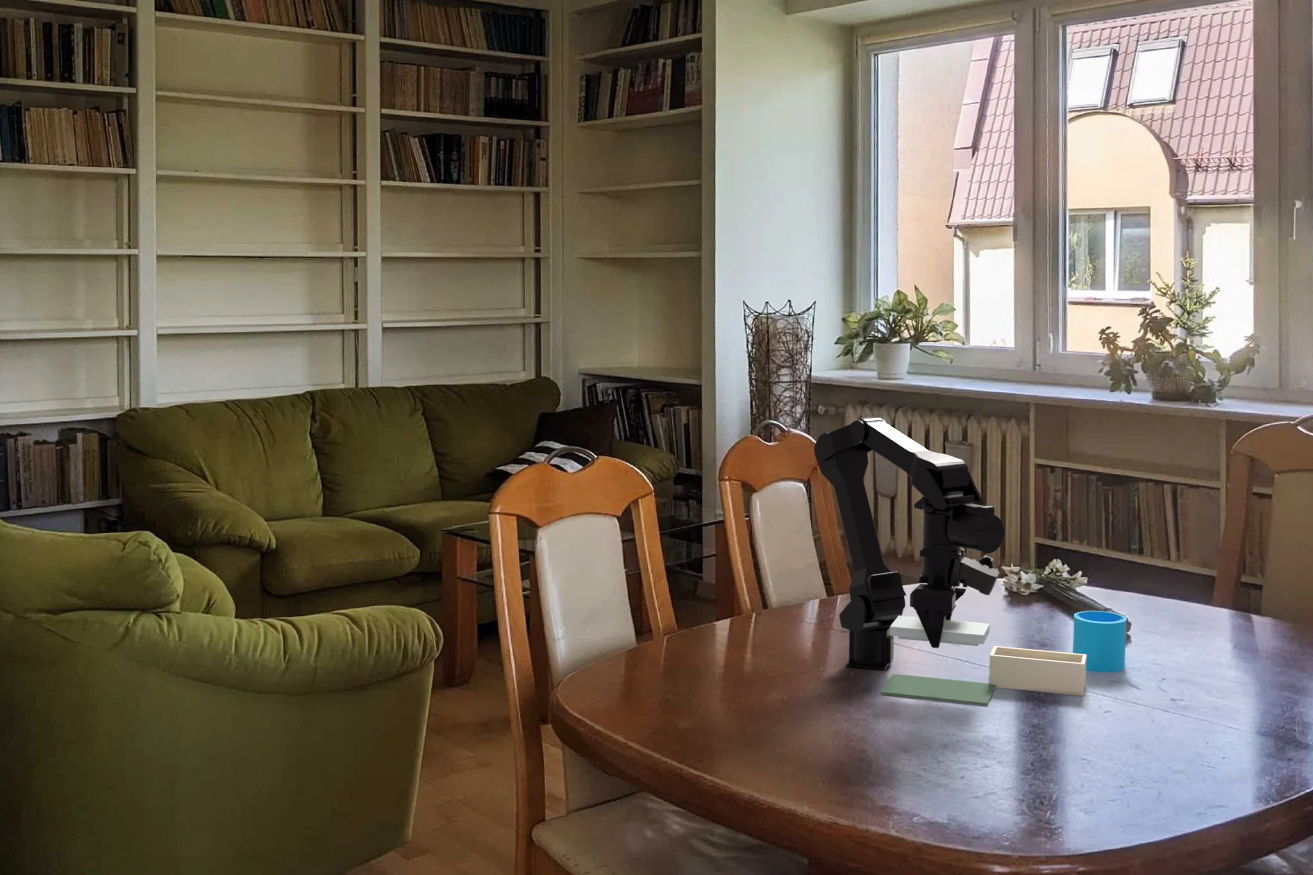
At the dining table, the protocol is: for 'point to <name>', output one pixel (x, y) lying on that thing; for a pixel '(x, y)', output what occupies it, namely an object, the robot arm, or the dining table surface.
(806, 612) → the dining table surface
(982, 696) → the felt mat
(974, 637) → the lid
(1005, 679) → the pencil box
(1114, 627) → the mug
